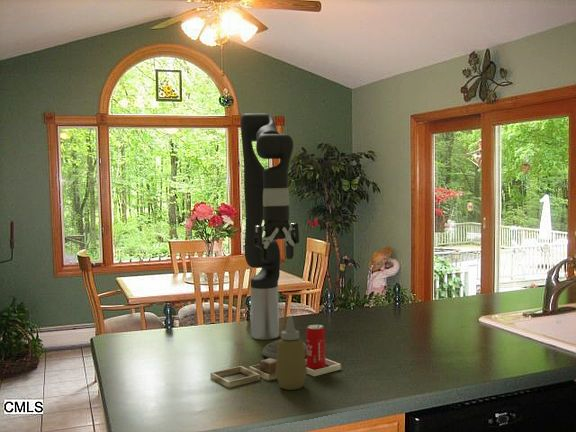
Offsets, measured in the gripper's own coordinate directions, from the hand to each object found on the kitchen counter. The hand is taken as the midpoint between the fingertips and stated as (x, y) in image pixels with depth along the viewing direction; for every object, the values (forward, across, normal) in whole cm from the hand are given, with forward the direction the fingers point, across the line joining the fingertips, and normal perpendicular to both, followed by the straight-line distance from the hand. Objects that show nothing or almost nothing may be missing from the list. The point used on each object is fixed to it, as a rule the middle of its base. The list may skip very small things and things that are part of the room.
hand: (277, 260), depth 173 cm
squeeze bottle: (+30, +9, +18) cm, 37 cm away
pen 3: (+30, -5, +11) cm, 32 cm away
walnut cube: (+30, +8, +7) cm, 32 cm away
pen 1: (+30, +18, +4) cm, 35 cm away
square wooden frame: (+30, +6, +6) cm, 31 cm away
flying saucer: (+31, -6, -5) cm, 32 cm away
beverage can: (+30, -5, +11) cm, 33 cm away
